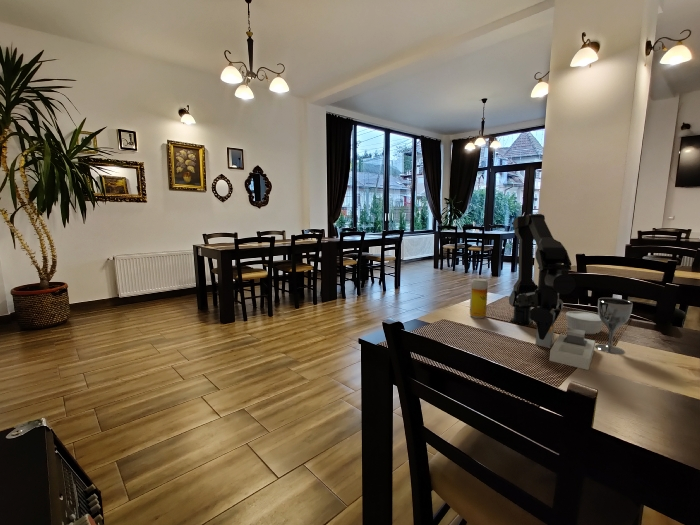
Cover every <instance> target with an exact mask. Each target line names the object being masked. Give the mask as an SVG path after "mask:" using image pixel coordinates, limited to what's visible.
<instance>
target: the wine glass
mask: <svg viewBox="0 0 700 525" xmlns="http://www.w3.org/2000/svg"><path fill="white" fill-rule="evenodd" d="M633 305H634V304H633V302H632V301H630V300H626V299H623V298H618V297H617V298H615V297H600V298H598V299H597V312H598V313H597V314H598V315H599V317H600V319H601V320H602V321H603V324H604V325H605V326H606V328H607V330H608V344H605V343H604V344H602V343H599V344H595V347H594V348H595V349H597V350H599V351H601V352H604V353H607V354H612V355H613V354H614V355H624V354H625V353H626V352H625V351H626V350H624V349H622V348H621V347H618V346H615V345H613V338H614V336H615V332H616V331H617V329H618V328H621V327H622V326H623V325H625V324H626V323H627V322H628V321H629V319H630V317H631V314H632V311H633Z"/></svg>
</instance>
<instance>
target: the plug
mask: <svg viewBox="0 0 700 525" xmlns="http://www.w3.org/2000/svg"><path fill="white" fill-rule="evenodd" d="M554 332H555V325H553V326H551V327H550V329H549V331H548V333H547V335H546V336H545V338H544V340H541V339H539V334H538V330H537V329H536V333H535V346H540V347H544V348H547V349H551V348H552V347H553V345H554Z"/></svg>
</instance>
